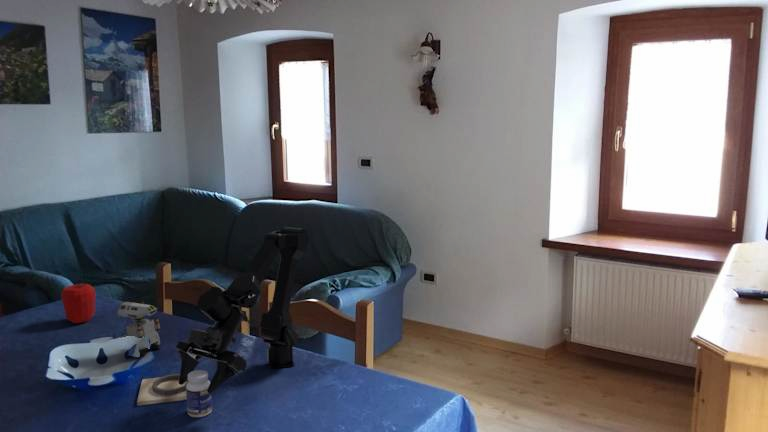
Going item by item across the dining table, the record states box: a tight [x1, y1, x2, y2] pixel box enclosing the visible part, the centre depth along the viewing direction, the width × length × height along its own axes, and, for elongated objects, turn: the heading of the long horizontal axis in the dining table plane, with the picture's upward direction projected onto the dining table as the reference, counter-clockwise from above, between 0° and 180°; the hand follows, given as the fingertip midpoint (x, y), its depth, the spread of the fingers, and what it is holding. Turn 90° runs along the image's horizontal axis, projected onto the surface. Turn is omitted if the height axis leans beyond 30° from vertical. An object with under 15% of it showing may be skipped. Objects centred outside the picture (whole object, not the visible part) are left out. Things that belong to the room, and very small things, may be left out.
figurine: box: [112, 301, 162, 350], centre depth 186 cm, size 9×12×15 cm
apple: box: [61, 282, 96, 325], centre depth 211 cm, size 10×10×14 cm
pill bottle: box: [186, 369, 213, 418], centre depth 150 cm, size 6×6×10 cm
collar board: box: [136, 373, 189, 407], centre depth 162 cm, size 16×13×2 cm
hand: (194, 388), depth 149 cm, fingers open, 9 cm apart
